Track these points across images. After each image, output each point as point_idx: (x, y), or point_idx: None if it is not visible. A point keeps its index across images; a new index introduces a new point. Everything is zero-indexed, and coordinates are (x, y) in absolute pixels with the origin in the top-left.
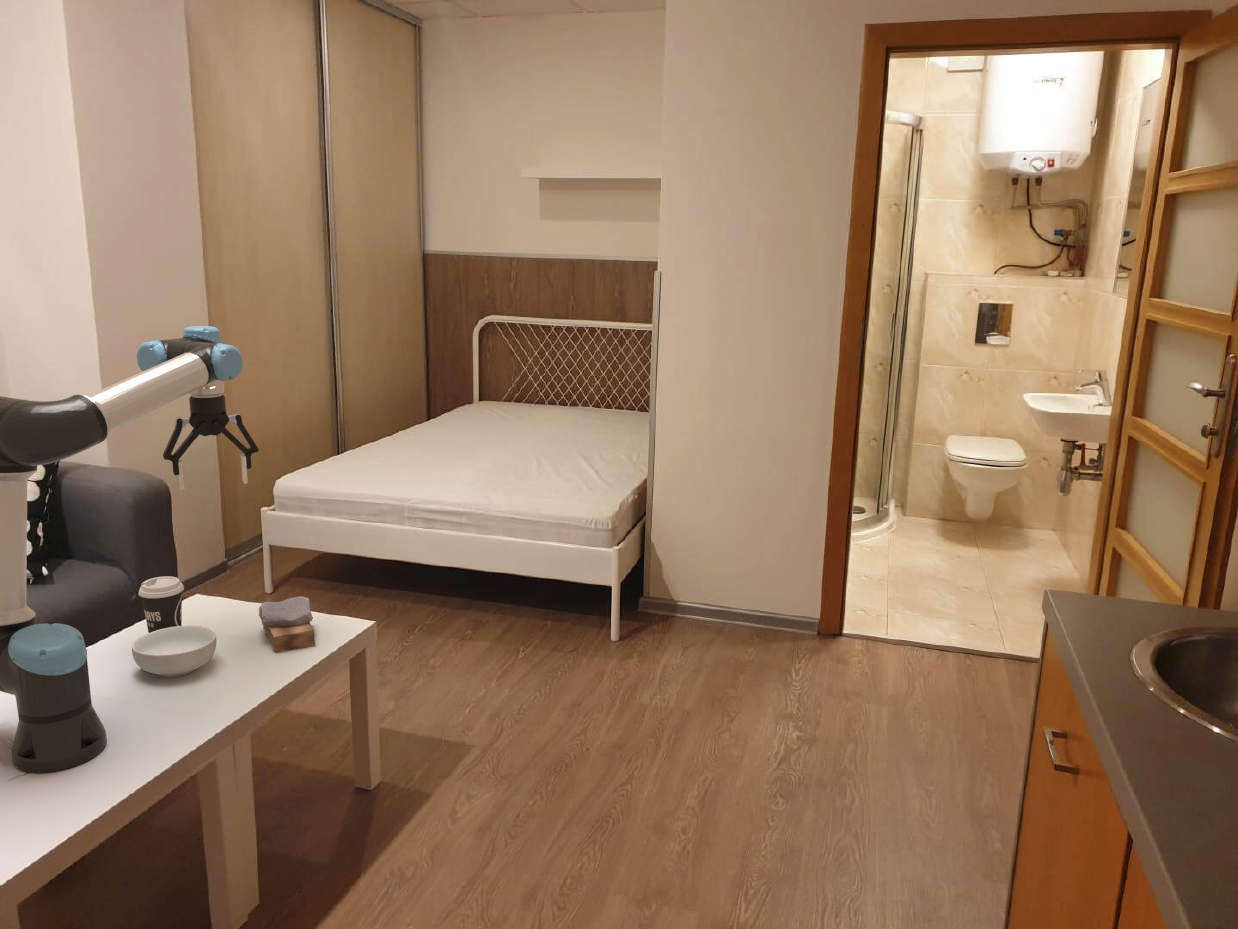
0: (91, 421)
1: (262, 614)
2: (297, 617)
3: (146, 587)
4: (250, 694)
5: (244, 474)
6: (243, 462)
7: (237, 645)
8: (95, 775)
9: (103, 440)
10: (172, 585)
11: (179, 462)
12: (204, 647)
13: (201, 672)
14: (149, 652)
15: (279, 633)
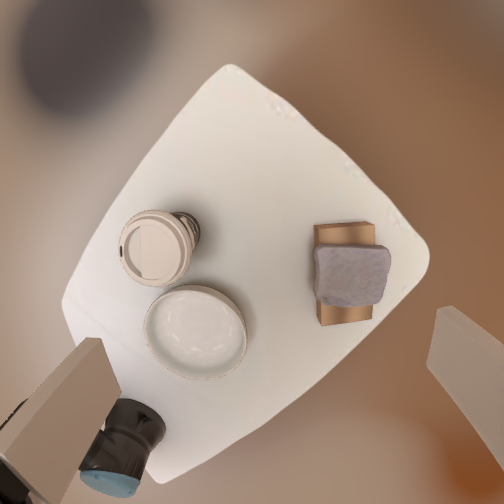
0: None
1: (317, 292)
2: (361, 305)
3: (128, 274)
4: (277, 397)
5: (453, 395)
6: (489, 445)
7: (274, 275)
8: (169, 449)
9: None
10: (170, 278)
11: (45, 501)
12: (232, 370)
13: None
14: (164, 301)
15: (330, 318)
